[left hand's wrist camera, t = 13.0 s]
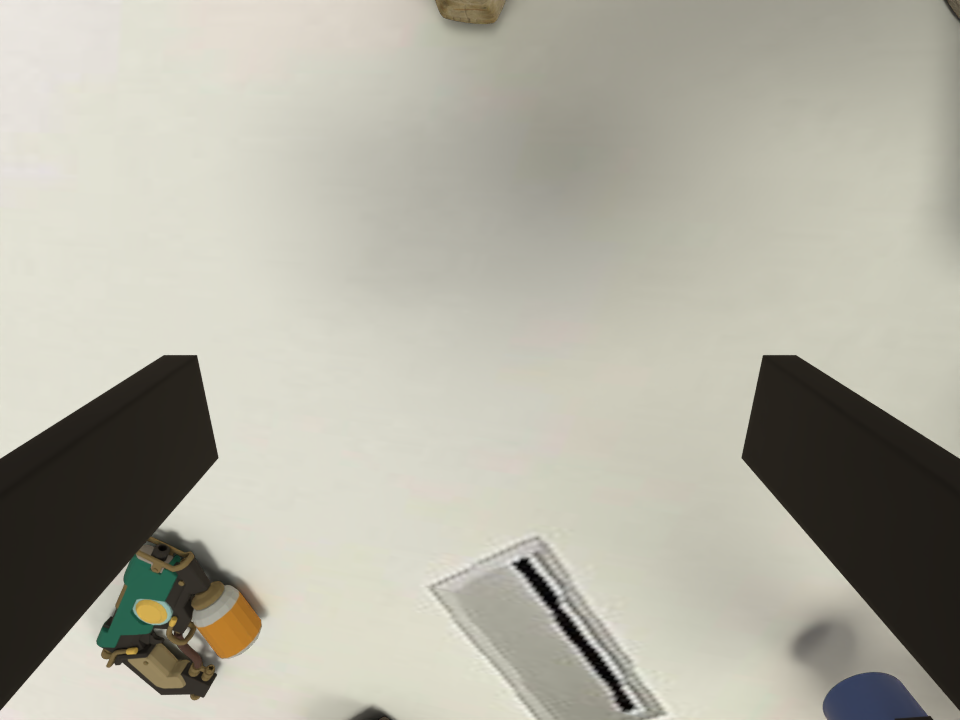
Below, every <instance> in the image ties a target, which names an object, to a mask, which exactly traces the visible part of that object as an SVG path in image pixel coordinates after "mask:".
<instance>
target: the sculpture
mask: <svg viewBox="0 0 960 720" xmlns="http://www.w3.org/2000/svg"><path fill="white" fill-rule="evenodd" d="M435 1H436V4H437V7H438V9H439V11H440V13H441V15H442V16H443V17H444V18H446V19H450V20H454V21H460V22H466V23H475V24H489V23H494V22H495V21H496V20H497V18H498V17H499V15H500V13H501V10H502V8H503V6H504V4H505V1H506V0H435Z"/></svg>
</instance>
